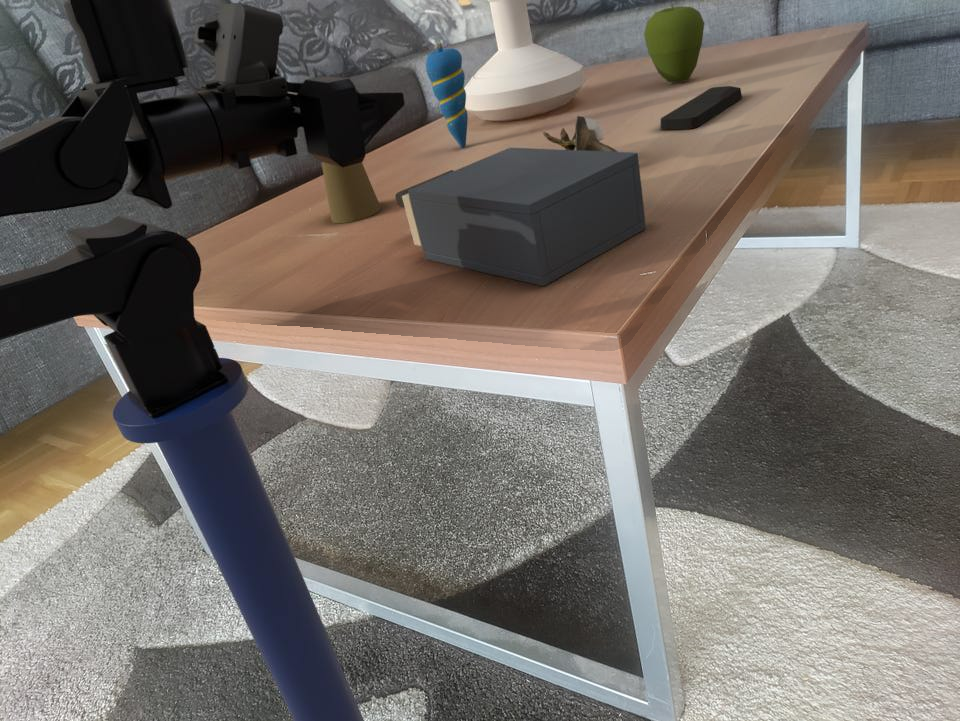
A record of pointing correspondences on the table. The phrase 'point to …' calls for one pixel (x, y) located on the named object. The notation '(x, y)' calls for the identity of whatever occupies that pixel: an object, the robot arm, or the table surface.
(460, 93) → the ornament
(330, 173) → the cork
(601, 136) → the eagle figurine
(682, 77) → the apple
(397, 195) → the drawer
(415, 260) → the table surface
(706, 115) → the remote control
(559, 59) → the candle holder
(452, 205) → the cabinet
